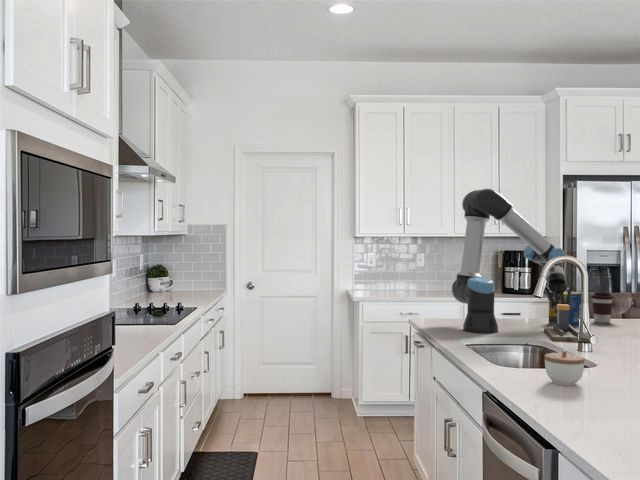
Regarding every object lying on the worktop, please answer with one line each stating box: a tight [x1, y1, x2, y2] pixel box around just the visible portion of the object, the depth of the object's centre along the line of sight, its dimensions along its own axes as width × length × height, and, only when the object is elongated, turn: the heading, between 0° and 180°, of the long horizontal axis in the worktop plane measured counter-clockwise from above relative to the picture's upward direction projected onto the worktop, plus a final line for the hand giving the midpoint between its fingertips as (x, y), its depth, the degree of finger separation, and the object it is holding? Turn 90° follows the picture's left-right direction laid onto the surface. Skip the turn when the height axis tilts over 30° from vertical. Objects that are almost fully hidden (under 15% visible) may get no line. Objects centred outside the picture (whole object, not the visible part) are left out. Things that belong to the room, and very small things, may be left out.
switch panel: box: [543, 324, 579, 343], centre depth 247 cm, size 14×26×4 cm, turn 166°
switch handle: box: [557, 304, 570, 331], centre depth 254 cm, size 5×5×11 cm
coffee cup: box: [590, 291, 614, 324], centre depth 289 cm, size 10×10×15 cm
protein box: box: [548, 290, 581, 327], centre depth 283 cm, size 10×15×16 cm
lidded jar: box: [544, 350, 585, 387], centre depth 168 cm, size 11×11×9 cm
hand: (561, 317), depth 259 cm, fingers closed
